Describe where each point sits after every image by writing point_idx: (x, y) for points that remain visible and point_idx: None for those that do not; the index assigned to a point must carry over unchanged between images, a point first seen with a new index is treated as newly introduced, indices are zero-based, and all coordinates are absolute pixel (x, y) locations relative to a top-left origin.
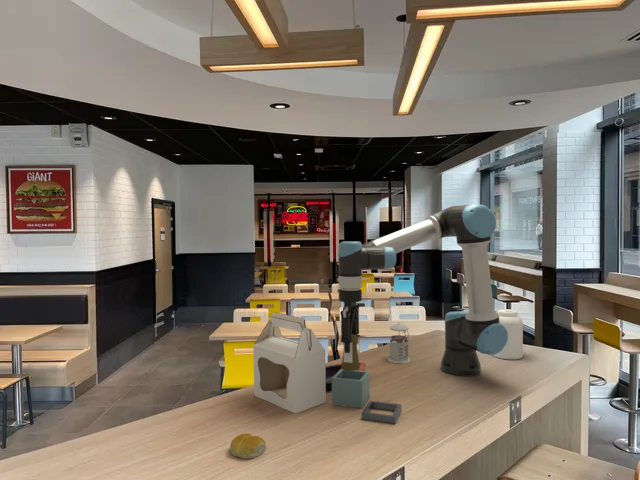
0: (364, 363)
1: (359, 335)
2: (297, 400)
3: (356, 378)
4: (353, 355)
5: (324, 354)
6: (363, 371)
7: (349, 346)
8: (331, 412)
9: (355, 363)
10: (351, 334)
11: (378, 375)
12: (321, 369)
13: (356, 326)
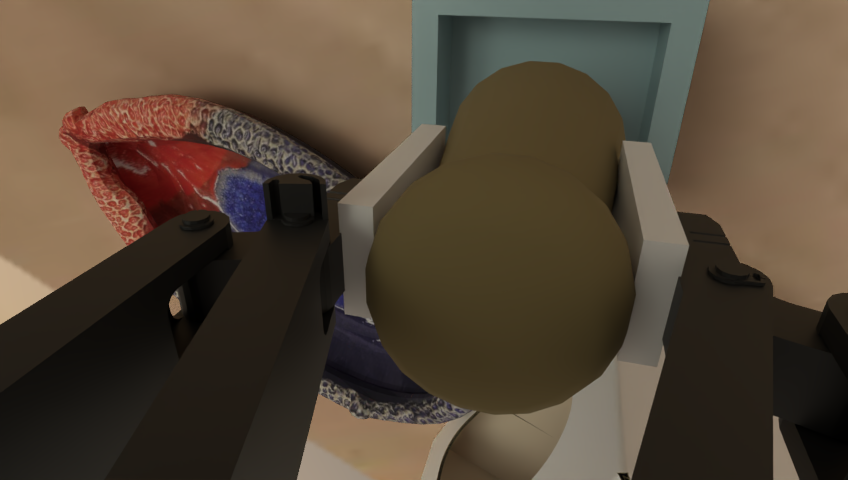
0: (66, 117)
1: (285, 182)
2: None
3: (448, 92)
4: (598, 153)
5: (634, 440)
6: (421, 43)
7: (689, 249)
8: (766, 165)
9: (594, 106)
10: (686, 332)
11: (96, 11)
12: (658, 370)
13: (243, 316)
